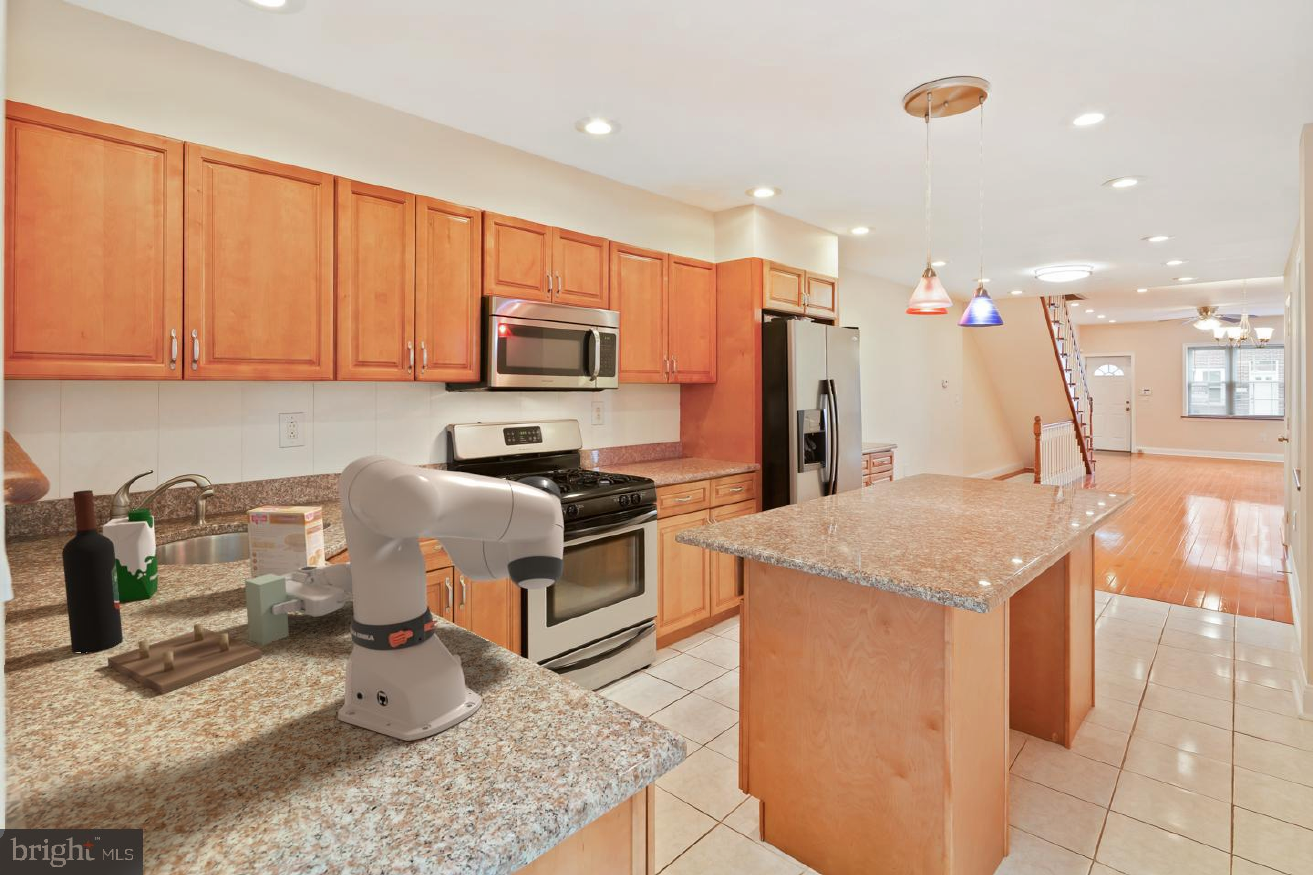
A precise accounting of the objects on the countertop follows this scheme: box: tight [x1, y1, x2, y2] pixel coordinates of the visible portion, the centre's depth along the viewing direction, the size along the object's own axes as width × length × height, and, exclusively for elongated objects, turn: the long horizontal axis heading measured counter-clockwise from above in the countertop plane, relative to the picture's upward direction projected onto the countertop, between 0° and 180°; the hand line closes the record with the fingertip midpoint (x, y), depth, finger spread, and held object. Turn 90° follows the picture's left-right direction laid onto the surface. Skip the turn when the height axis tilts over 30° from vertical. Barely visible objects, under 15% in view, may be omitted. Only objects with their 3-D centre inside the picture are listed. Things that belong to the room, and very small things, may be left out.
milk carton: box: [102, 508, 159, 603], centre depth 156 cm, size 9×9×20 cm
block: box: [244, 574, 290, 646], centre depth 133 cm, size 5×5×12 cm
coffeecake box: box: [246, 505, 326, 579], centre depth 162 cm, size 15×7×20 cm, turn 82°
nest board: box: [107, 623, 262, 695], centre depth 123 cm, size 20×16×4 cm
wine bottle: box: [61, 489, 124, 654], centre depth 128 cm, size 8×8×30 cm
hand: (262, 607), depth 132 cm, fingers closed on block, 5 cm apart
